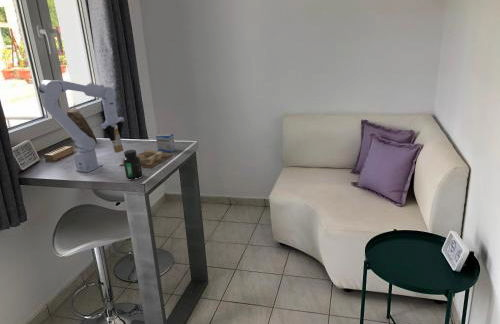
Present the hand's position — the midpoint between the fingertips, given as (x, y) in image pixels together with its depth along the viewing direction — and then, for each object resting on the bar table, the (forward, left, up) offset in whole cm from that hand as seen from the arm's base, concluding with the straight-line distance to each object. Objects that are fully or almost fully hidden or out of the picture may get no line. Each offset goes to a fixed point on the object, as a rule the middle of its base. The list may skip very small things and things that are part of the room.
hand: (115, 139), depth 194 cm
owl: (+18, +39, -10) cm, 44 cm away
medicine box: (+15, -18, -10) cm, 26 cm away
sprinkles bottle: (0, -1, -7) cm, 7 cm away
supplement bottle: (-20, -24, -10) cm, 33 cm away
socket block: (0, -16, -10) cm, 19 cm away
